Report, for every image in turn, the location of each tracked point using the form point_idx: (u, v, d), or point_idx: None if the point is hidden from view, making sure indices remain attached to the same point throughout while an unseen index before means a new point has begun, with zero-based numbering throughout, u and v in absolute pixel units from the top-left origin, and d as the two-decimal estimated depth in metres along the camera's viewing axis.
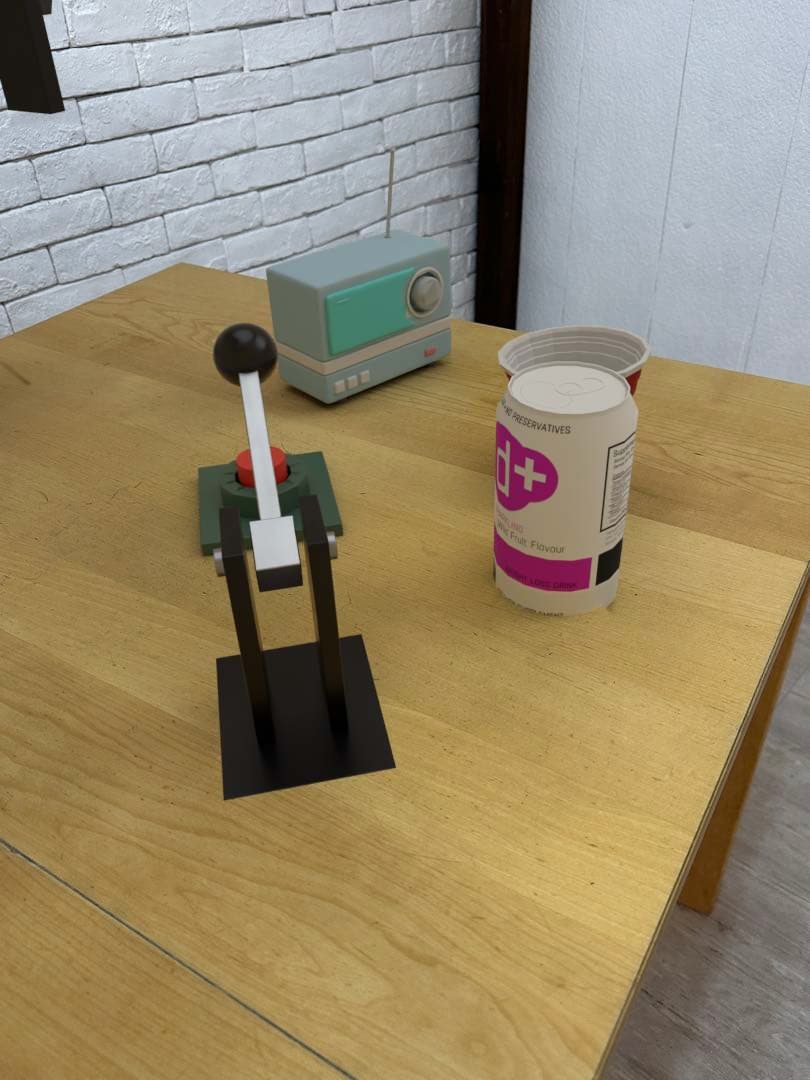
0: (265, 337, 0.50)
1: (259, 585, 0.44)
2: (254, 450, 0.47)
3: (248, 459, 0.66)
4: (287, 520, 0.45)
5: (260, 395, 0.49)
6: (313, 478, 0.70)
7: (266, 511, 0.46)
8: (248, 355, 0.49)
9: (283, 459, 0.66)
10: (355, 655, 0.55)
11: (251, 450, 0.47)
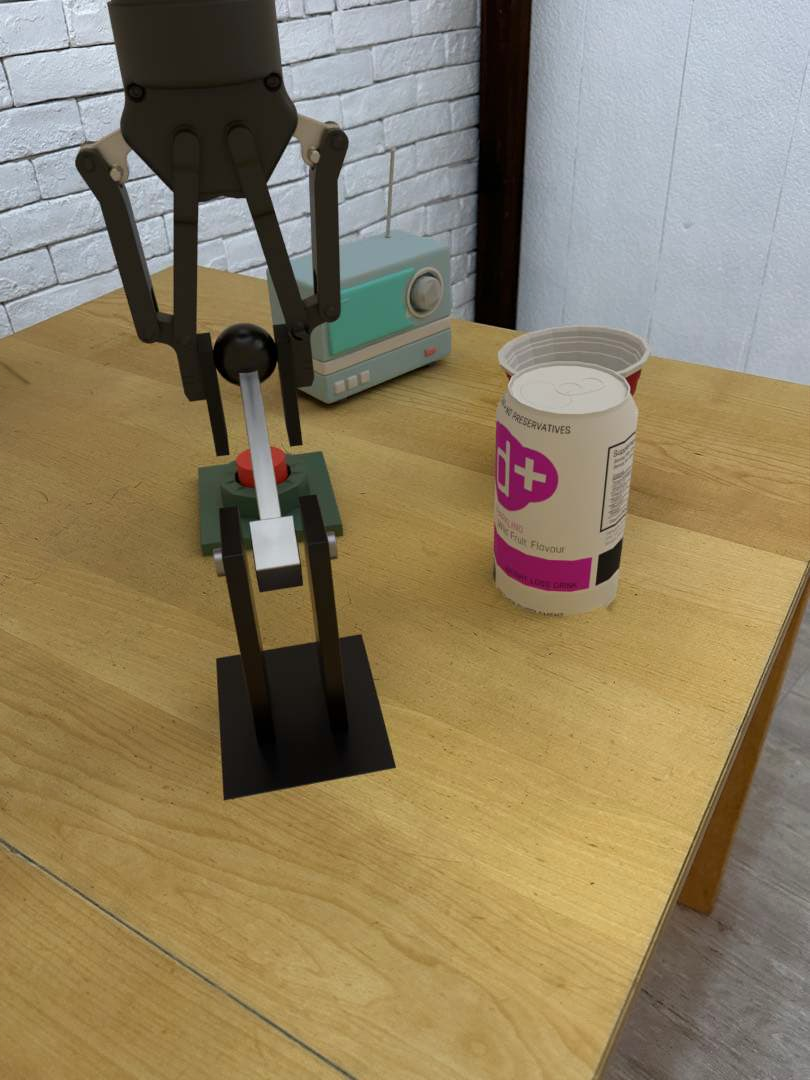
0: (265, 337, 0.50)
1: (259, 585, 0.44)
2: (254, 450, 0.47)
3: (248, 459, 0.66)
4: (287, 520, 0.45)
5: (260, 395, 0.49)
6: (313, 478, 0.70)
7: (266, 511, 0.46)
8: (248, 355, 0.49)
9: (283, 459, 0.66)
10: (355, 655, 0.55)
11: (251, 450, 0.47)
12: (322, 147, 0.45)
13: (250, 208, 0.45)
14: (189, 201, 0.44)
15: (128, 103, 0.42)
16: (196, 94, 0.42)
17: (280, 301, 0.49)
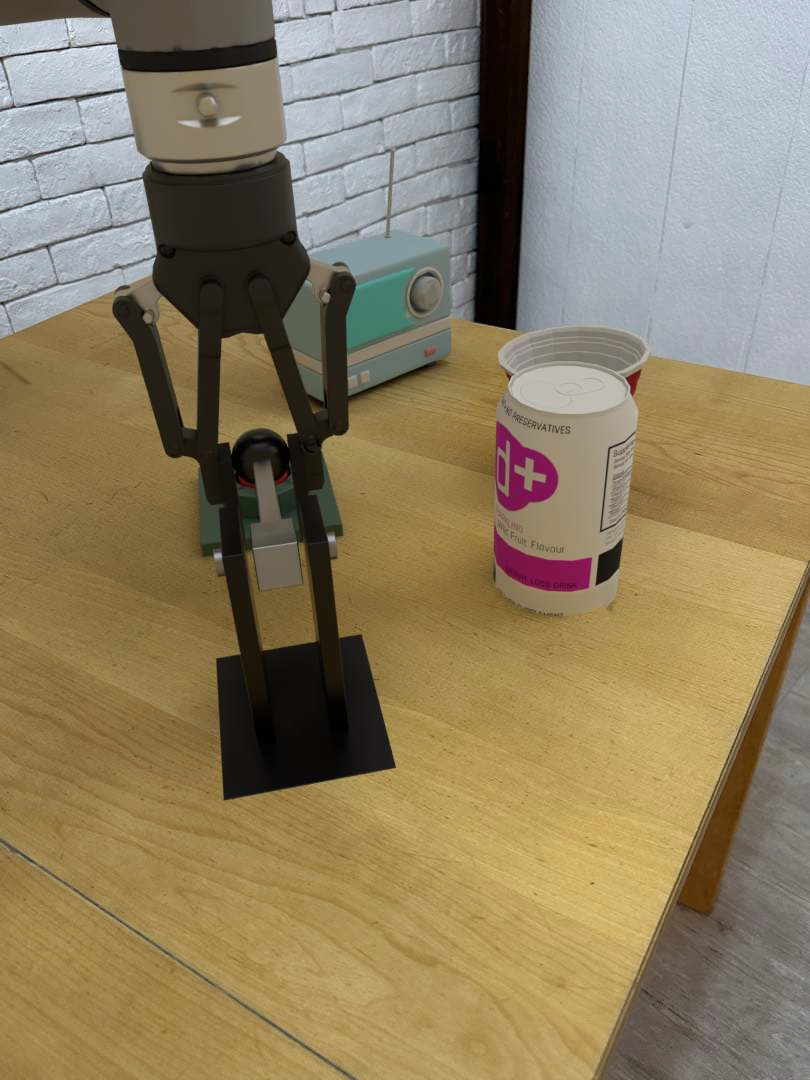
0: (277, 435, 0.56)
1: (258, 577, 0.44)
2: (261, 496, 0.50)
3: None
4: (287, 520, 0.45)
5: (270, 469, 0.53)
6: None
7: None
8: (261, 444, 0.55)
9: None
10: (355, 655, 0.55)
11: (258, 496, 0.50)
12: (332, 289, 0.50)
13: (268, 343, 0.50)
14: (213, 339, 0.50)
15: (160, 258, 0.47)
16: None
17: (294, 419, 0.54)
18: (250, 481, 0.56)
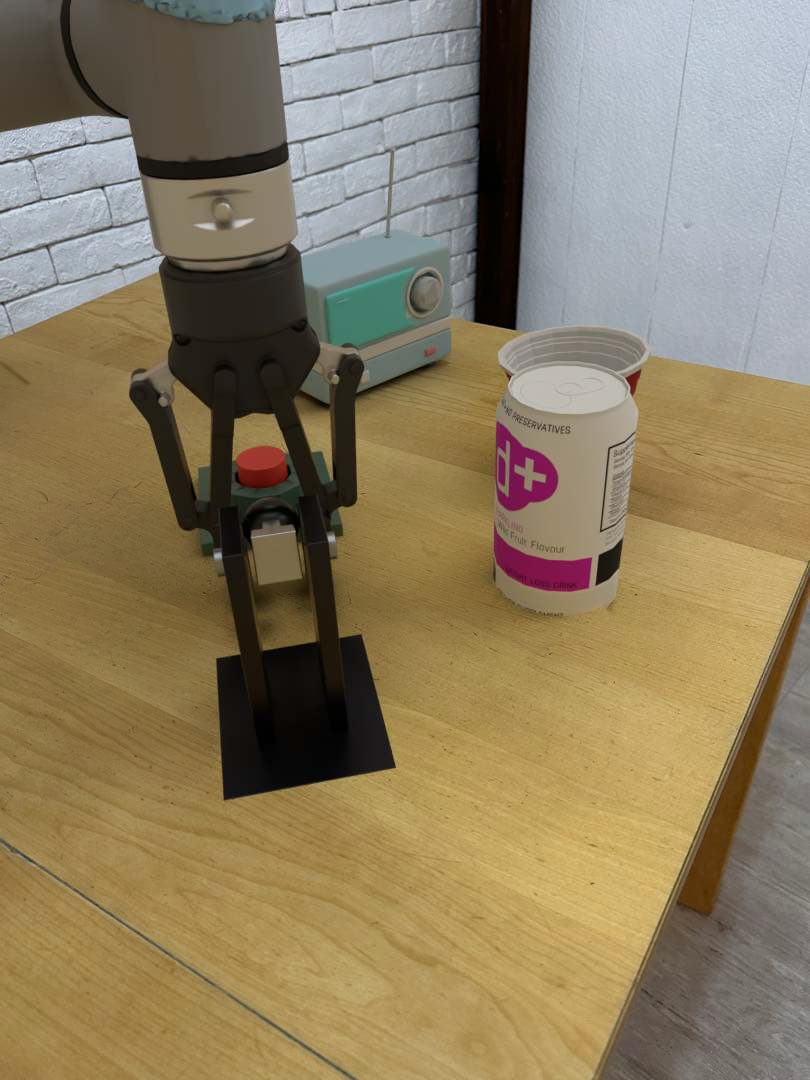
0: (287, 502, 0.58)
1: (256, 569, 0.43)
2: None
3: (248, 459, 0.66)
4: (287, 525, 0.46)
5: (278, 522, 0.54)
6: None
7: None
8: (270, 506, 0.56)
9: (283, 459, 0.66)
10: (355, 655, 0.55)
11: None
12: (341, 371, 0.52)
13: (279, 423, 0.52)
14: (226, 421, 0.51)
15: (175, 346, 0.49)
16: None
17: (304, 492, 0.55)
18: None
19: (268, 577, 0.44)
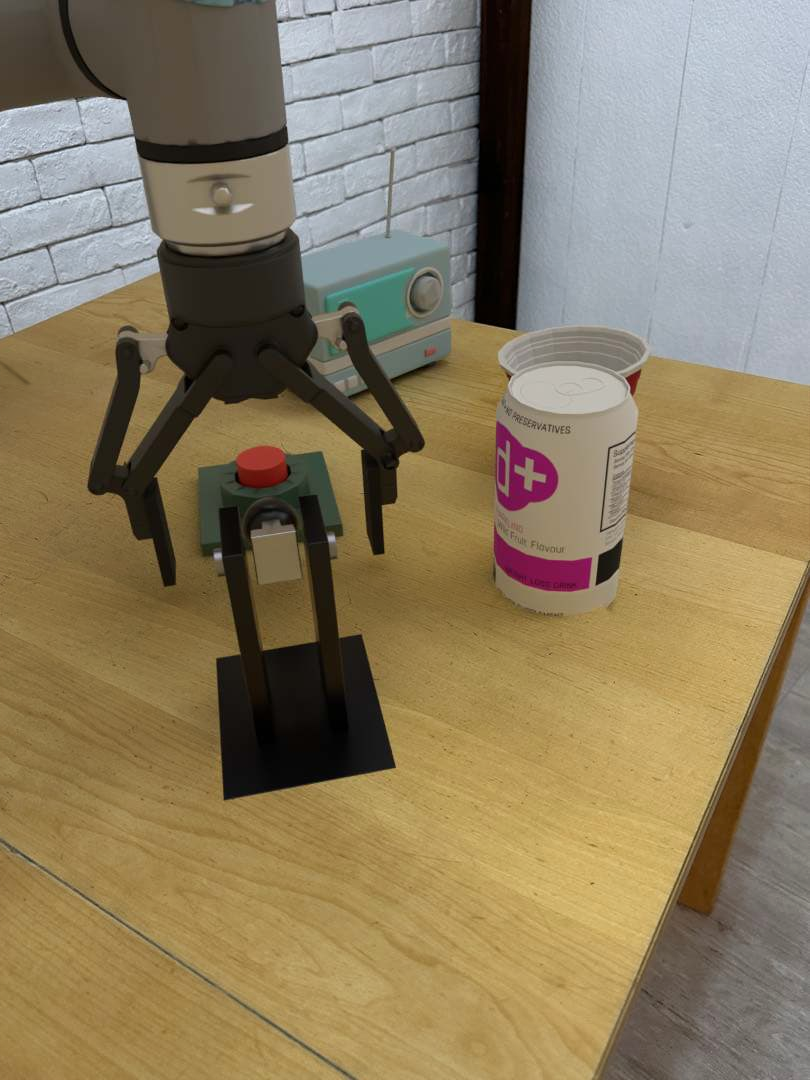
0: (287, 502, 0.58)
1: (256, 569, 0.43)
2: None
3: (248, 459, 0.66)
4: (287, 525, 0.46)
5: (278, 522, 0.54)
6: (313, 478, 0.70)
7: None
8: (270, 506, 0.56)
9: (283, 459, 0.66)
10: (355, 655, 0.55)
11: None
12: (344, 335, 0.51)
13: (302, 398, 0.52)
14: (199, 400, 0.51)
15: (173, 330, 0.49)
16: None
17: (362, 446, 0.55)
18: None
19: (268, 577, 0.44)
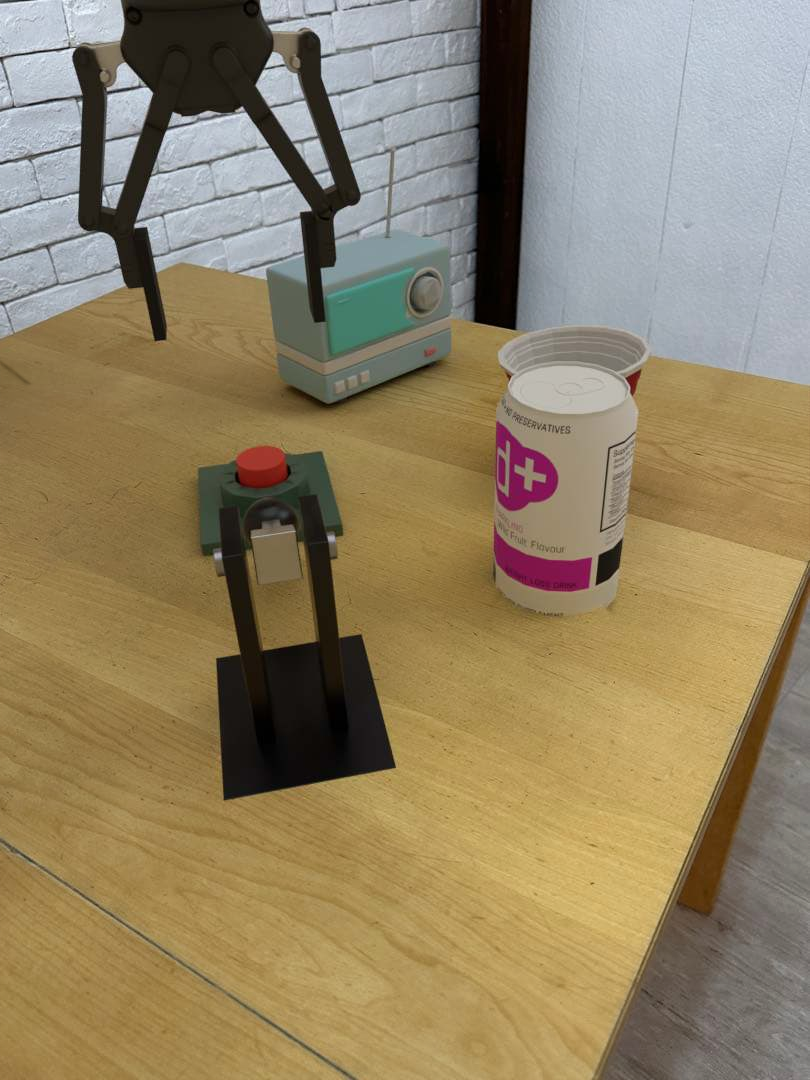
0: (287, 502, 0.58)
1: (256, 569, 0.43)
2: None
3: (248, 459, 0.66)
4: (287, 525, 0.46)
5: (278, 522, 0.54)
6: (313, 478, 0.70)
7: None
8: (270, 506, 0.56)
9: (283, 459, 0.66)
10: (355, 655, 0.55)
11: None
12: (299, 52, 0.51)
13: (250, 116, 0.52)
14: (164, 110, 0.51)
15: (127, 26, 0.49)
16: (185, 18, 0.49)
17: (301, 191, 0.55)
18: None
19: (268, 577, 0.44)
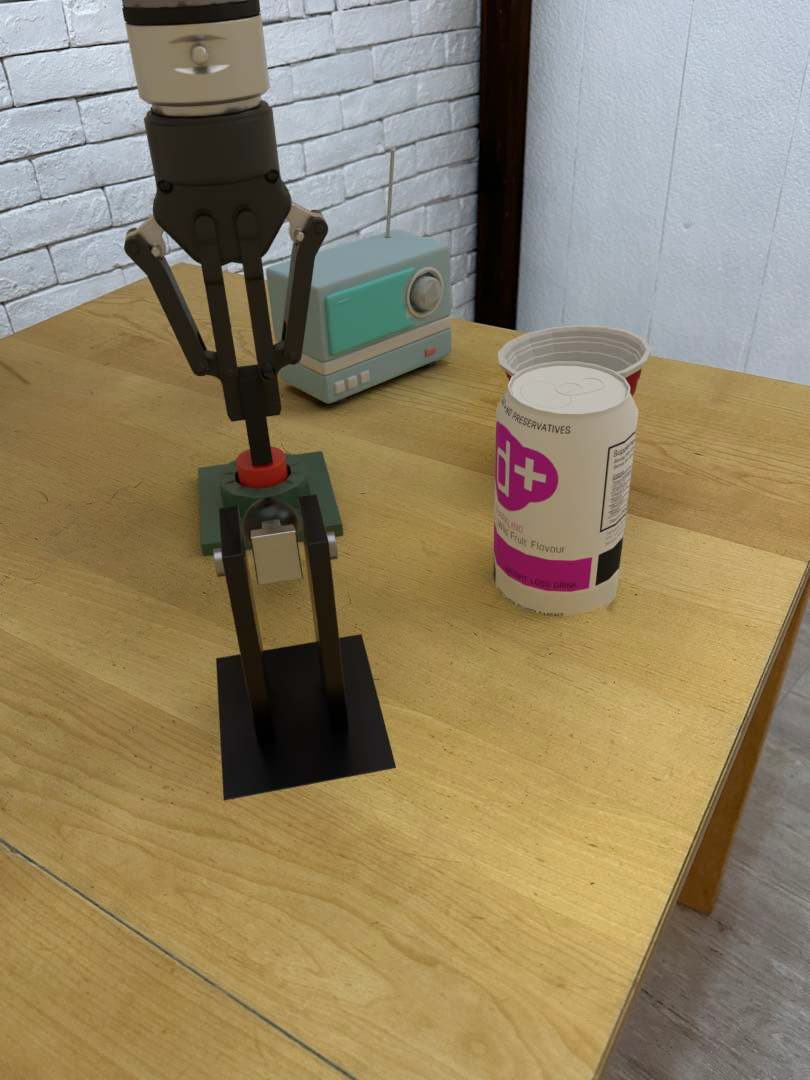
0: (287, 502, 0.58)
1: (256, 569, 0.43)
2: None
3: (248, 459, 0.66)
4: (287, 525, 0.46)
5: (278, 522, 0.54)
6: (313, 478, 0.70)
7: None
8: (270, 506, 0.56)
9: (283, 459, 0.66)
10: (355, 655, 0.55)
11: None
12: (307, 230, 0.57)
13: (245, 272, 0.57)
14: (214, 267, 0.56)
15: (159, 194, 0.54)
16: (212, 186, 0.54)
17: (256, 346, 0.60)
18: None
19: (268, 577, 0.44)
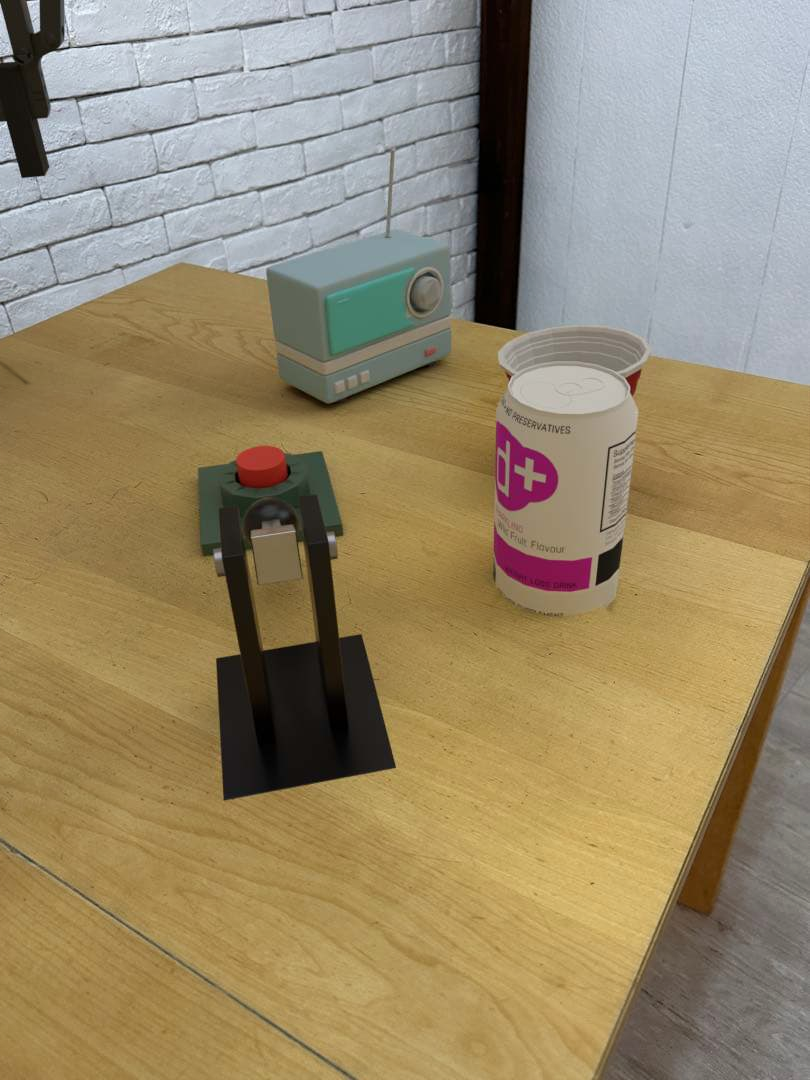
0: (287, 502, 0.58)
1: (256, 569, 0.43)
2: None
3: (248, 459, 0.66)
4: (287, 525, 0.46)
5: (278, 522, 0.54)
6: (313, 478, 0.70)
7: None
8: (270, 506, 0.56)
9: (283, 459, 0.66)
10: (355, 655, 0.55)
11: None
12: None
13: None
14: None
15: None
16: None
17: (6, 23, 0.55)
18: None
19: (268, 577, 0.44)
